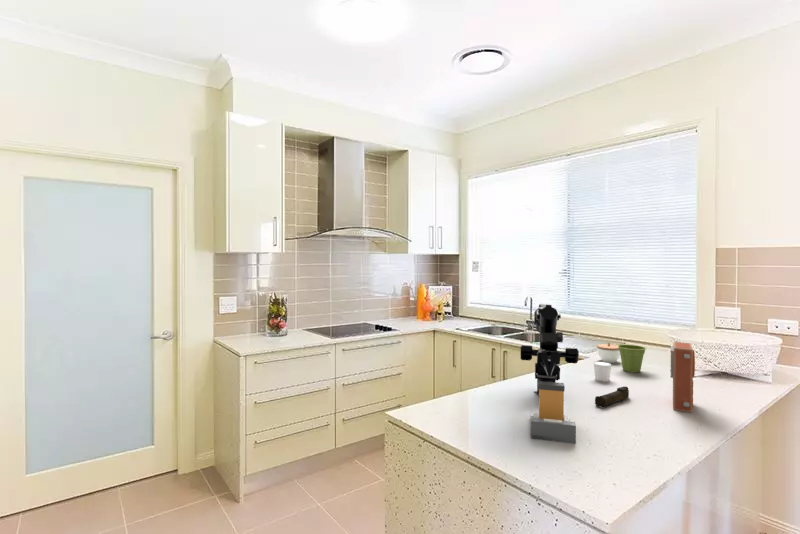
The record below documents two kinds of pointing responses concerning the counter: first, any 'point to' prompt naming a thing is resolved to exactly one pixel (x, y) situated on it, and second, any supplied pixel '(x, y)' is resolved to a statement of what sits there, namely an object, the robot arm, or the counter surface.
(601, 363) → the white cup
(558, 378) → the robot arm
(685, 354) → the brown case
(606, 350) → the lidded jar
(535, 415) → the base
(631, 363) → the plant pot
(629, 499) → the counter surface
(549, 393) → the handle
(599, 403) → the hand tool
